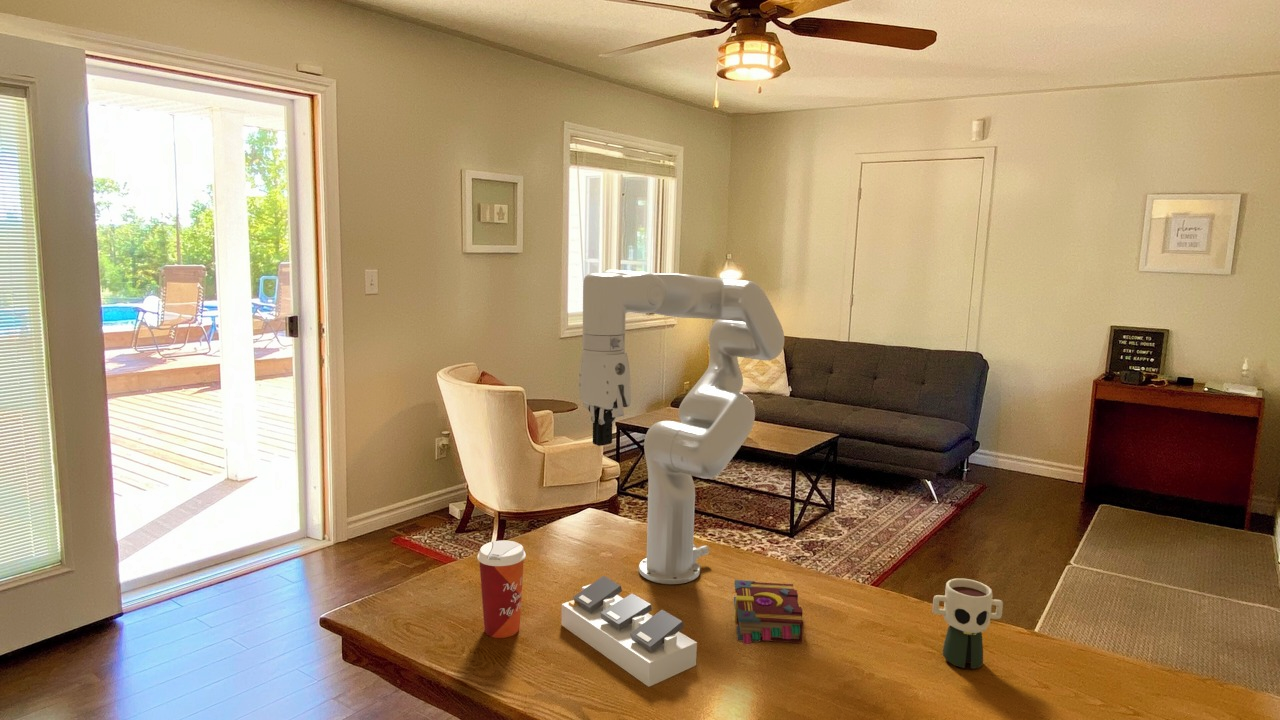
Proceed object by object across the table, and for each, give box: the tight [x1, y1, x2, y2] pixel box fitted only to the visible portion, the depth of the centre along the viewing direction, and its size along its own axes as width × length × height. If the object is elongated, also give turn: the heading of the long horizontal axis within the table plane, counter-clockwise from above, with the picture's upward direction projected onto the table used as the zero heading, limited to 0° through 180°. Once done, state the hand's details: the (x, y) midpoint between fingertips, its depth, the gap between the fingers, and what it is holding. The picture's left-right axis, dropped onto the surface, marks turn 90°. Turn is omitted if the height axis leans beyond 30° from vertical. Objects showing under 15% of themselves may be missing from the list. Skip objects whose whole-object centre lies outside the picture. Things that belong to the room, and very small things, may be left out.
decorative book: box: [733, 579, 804, 645], centre depth 140 cm, size 11×16×5 cm
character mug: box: [931, 578, 1004, 669], centre depth 128 cm, size 11×7×13 cm, turn 83°
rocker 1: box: [572, 575, 623, 613], centre depth 137 cm, size 7×5×2 cm
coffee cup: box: [476, 539, 527, 639], centre depth 135 cm, size 8×8×15 cm
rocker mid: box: [600, 592, 653, 630], centre depth 131 cm, size 7×5×2 cm
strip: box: [560, 583, 698, 688], centre depth 133 cm, size 10×27×6 cm, turn 40°
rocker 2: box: [630, 609, 685, 653], centre depth 125 cm, size 7×5×2 cm
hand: (602, 443), depth 141 cm, fingers closed
